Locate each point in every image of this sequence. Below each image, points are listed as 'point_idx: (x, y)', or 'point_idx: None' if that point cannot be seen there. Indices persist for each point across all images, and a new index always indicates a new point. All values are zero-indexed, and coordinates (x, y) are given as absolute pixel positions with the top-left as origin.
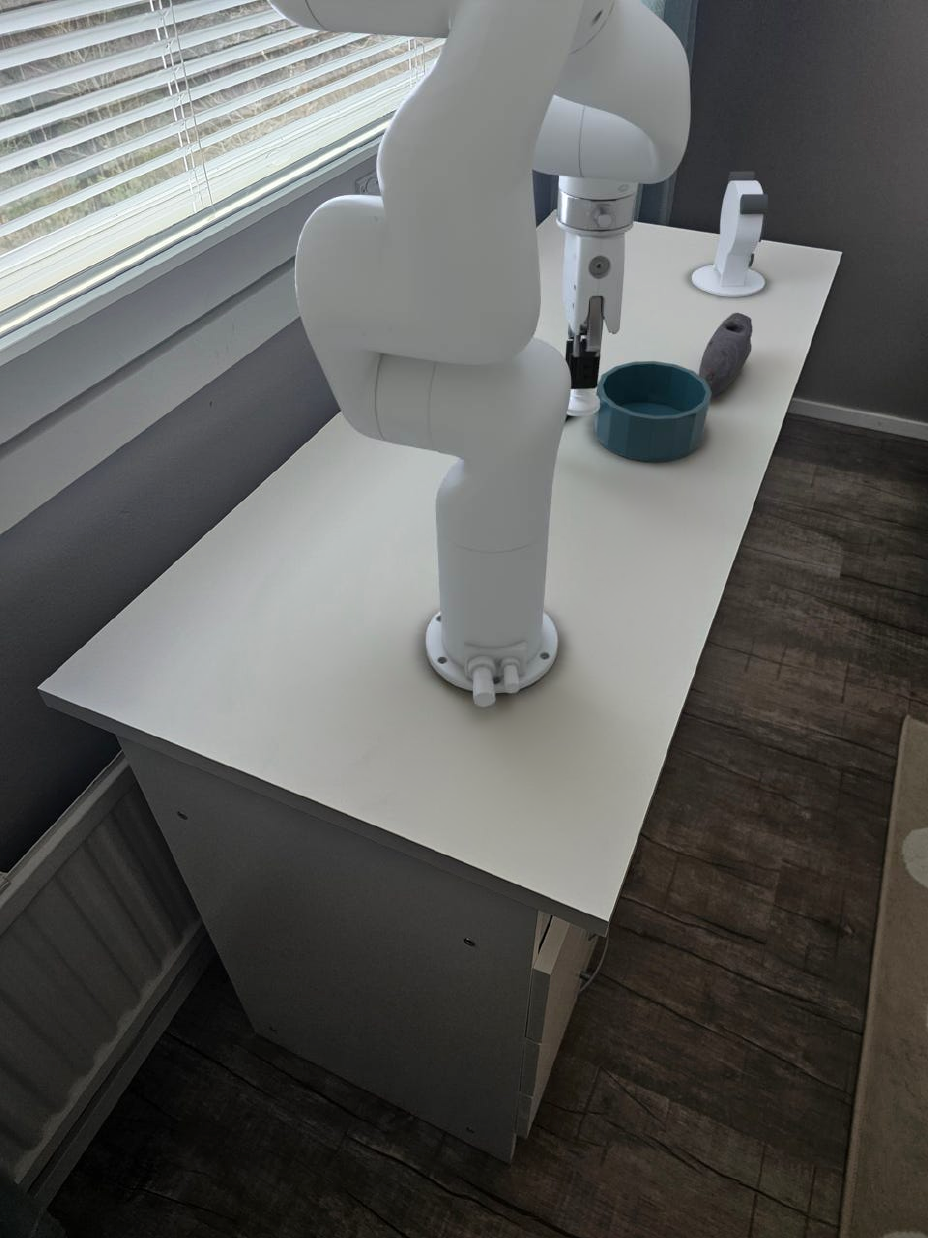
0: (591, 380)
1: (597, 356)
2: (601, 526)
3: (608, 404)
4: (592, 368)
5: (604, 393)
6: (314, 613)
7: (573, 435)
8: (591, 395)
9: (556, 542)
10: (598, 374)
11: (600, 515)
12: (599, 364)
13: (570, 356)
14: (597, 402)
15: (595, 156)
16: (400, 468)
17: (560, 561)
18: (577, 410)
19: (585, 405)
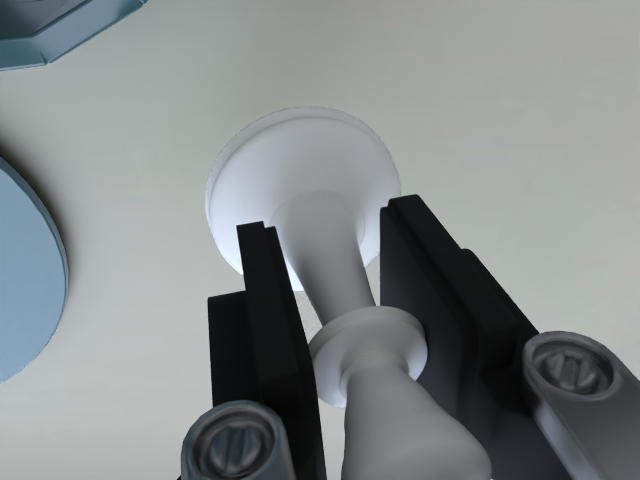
0: (470, 253)
1: (582, 348)
2: (543, 17)
3: (113, 23)
4: (512, 303)
5: (10, 43)
6: None
7: (76, 101)
8: (299, 168)
9: (571, 131)
10: (446, 231)
11: (500, 18)
12: (478, 272)
13: None
14: (343, 133)
15: None
16: None
17: (630, 120)
18: None
19: (384, 189)
